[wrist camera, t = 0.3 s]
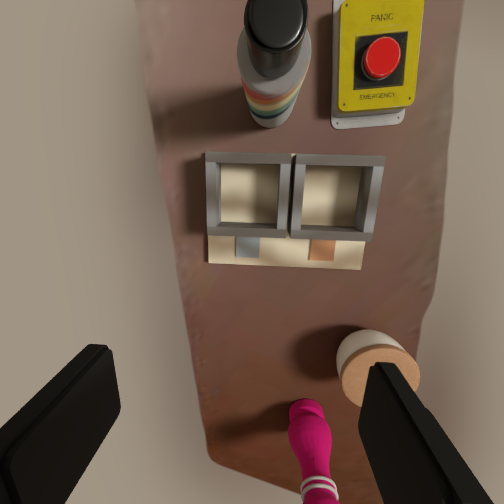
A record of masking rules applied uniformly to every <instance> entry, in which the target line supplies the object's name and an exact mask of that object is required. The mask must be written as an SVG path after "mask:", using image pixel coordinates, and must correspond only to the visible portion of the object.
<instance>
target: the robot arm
mask: <svg viewBox="0 0 504 504" xmlns="http://www.w3.org/2000/svg"><path fill="white" fill-rule="evenodd" d="M120 408H121V405H120V398H119V391H118V385H117V379H116V372H115V366H114V360H113V354H112V351H111V350H110V349H109V348H108V346H107V345H99V344H89V345H87V346H86V347H85V348H84V349H83V350H82V351H81V352H80V353H79V354H77V355H76V356H75V357H74V358H73V359H72V360H71V361H70V362H69V363H68V364H67V365H66V366H65V367H64V368H63V369H62V370H61V371H60V372H59V373H58V374H57V375H56V376H55V377H53V378H52V380H50V381H49V382H48V383H47V384H46V385H45V386H44V387H43V388H42V389H41V390H40V391H39V392H38V393H37V394H36V395H35V396H34V397H33V398H32V399H30V401H28V402H27V403H26V404H25V406H23V407H22V408H21V409H20V410H19V411H18V412H17V413H16V414H15V415H14V416H13V417H12V418H11V419H10V420H9V421H8V422H6V424H4V425H3V426H2V427H1V428H0V504H65V502H66V501H67V499H68V497H69V496H70V494H71V492H72V491H73V489H74V488H75V486H76V484H77V483H78V481H79V479H80V478H81V476H82V475H83V473H84V471H85V470H86V468H87V466H88V465H89V463H90V461H91V460H92V458H93V457H94V455H95V453H96V452H97V450H98V448H99V447H100V445H101V443H102V442H103V440H104V439H105V437H106V435H107V434H108V432H109V430H110V429H111V427H112V426H113V424H114V422H115V420H116V419H117V417H118V415H119V413H120ZM358 429H359V434H360V437H361V440H362V443H363V446H364V448H365V451H366V454H367V457H368V460H369V463H370V465H371V468H372V471H373V474H374V477H375V479H376V482H377V485H378V488H379V491H380V494H381V496H382V499H383V502H384V504H494V503H493V502H492V500H491V499H490V498H489V496H488V495H487V493H486V492H485V490H484V489H483V487H482V486H481V484H480V483H479V482H478V480H477V479H476V477H475V476H474V474H473V473H472V471H471V470H470V468H469V467H468V466H467V464H466V463H465V461H464V460H463V458H462V457H461V455H460V454H459V452H458V451H457V449H456V448H455V447H454V445H453V444H452V442H451V441H450V439H449V438H448V436H447V435H446V434H445V432H444V430H443V429H442V428H441V426H440V425H439V423H438V422H437V420H436V419H435V417H434V416H433V415H432V413H431V412H430V411H429V410H428V409H427V408H425V407H424V405H423V404H422V402H421V401H420V400H419V398H418V397H417V395H416V394H415V392H414V391H413V389H412V388H411V386H410V385H409V383H408V382H407V380H406V379H405V377H404V376H403V374H402V373H401V371H400V370H399V368H398V367H397V366H396V364H395V363H391V362H376V363H375V364H374V366H370V368H369V372H368V377H367V382H366V387H365V392H364V397H363V402H362V407H361V412H360V417H359V422H358Z"/></svg>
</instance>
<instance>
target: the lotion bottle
mask: <svg viewBox="0 0 504 504" xmlns="http://www.w3.org/2000/svg"><path fill="white" fill-rule="evenodd" d="M307 23H308V5H307V0H248V1H247V4H246V7H245V12H244V28H243V30H242V32H241V34H240V37H239V41H238V46H237V61H238V67H239V71H240V75H241V79H242V83H243V87H244V91H245V94H246V98H247V102H248V106H249V109H250V112H251V115H252V117H253V118H254V120H255V121H256V122H257V123H258V124H260V125H261V126H263V127H267V128H274V127H277V126H279V125H281V124H283V123H284V122H285V121H286V120H287V119H288V117H289V115H290V114H291V111H292V109H293V106H294V104H295V101H296V99H297V96H298V94H299V91H300V88H301V86H302V83H303V81H304V78H305V75H306V73H307V70H308V67H309V63H310V58H311V40H310V35H309V32H308V30H307Z"/></svg>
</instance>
